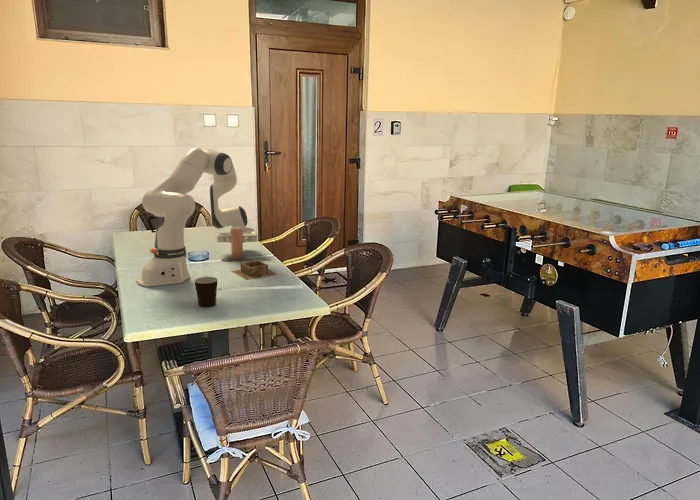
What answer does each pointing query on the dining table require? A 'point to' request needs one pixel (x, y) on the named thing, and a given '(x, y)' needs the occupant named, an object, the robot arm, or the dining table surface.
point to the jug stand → (254, 270)
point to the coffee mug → (206, 291)
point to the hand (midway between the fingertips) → (236, 241)
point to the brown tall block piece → (236, 243)
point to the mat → (236, 259)
